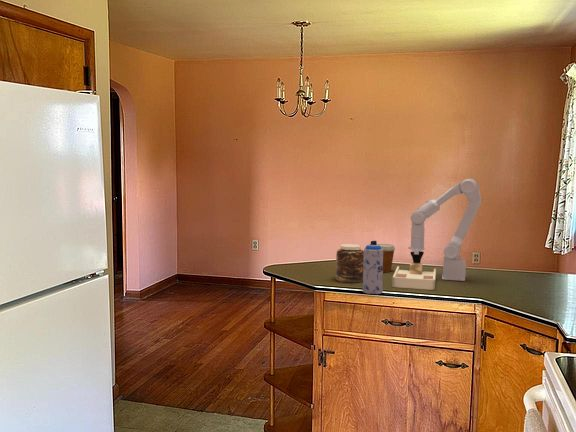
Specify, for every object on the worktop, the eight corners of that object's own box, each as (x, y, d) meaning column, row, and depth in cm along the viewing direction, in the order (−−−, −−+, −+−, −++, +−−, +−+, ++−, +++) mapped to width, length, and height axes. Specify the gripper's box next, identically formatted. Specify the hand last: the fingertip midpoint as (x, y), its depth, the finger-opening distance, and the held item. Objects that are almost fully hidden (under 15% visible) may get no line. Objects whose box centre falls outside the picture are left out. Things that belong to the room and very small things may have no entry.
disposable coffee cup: (389, 273, 241) (389, 247, 240) (370, 270, 247) (370, 245, 246) (397, 270, 249) (398, 245, 248) (379, 268, 255) (380, 243, 254)
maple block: (421, 272, 233) (422, 263, 232) (421, 274, 228) (421, 265, 228) (410, 271, 234) (410, 262, 234) (409, 273, 229) (409, 264, 229)
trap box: (435, 277, 234) (435, 268, 233) (434, 290, 211) (435, 280, 211) (397, 275, 239) (397, 266, 238) (392, 287, 216) (392, 277, 215)
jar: (355, 276, 236) (355, 242, 235) (368, 281, 225) (369, 246, 224) (331, 278, 232) (331, 244, 230) (344, 283, 221) (344, 248, 219)
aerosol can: (377, 294, 203) (379, 243, 201) (359, 292, 207) (360, 241, 205) (385, 290, 209) (387, 240, 207) (367, 288, 213) (368, 238, 211)
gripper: (409, 235, 244) (408, 264, 246) (407, 239, 230) (406, 270, 232) (425, 235, 242) (424, 265, 244) (424, 240, 228) (423, 271, 230)
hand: (416, 267), depth 238 cm, fingers closed
